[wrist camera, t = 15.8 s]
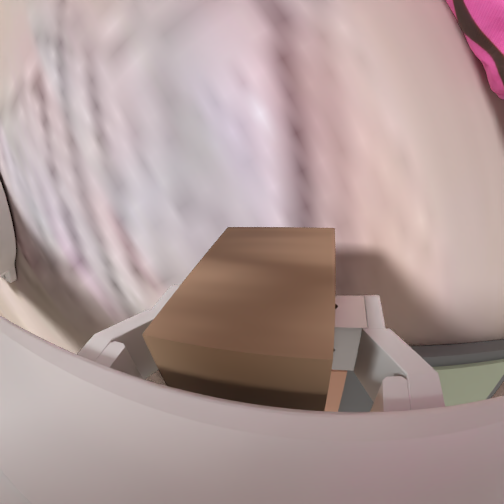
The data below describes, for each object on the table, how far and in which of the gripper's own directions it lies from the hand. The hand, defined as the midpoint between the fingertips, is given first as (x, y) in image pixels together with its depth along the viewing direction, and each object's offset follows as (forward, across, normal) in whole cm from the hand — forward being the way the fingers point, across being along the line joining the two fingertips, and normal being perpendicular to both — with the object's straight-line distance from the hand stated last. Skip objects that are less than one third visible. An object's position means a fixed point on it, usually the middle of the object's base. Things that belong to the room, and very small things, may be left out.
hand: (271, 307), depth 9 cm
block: (+2, 0, 0) cm, 2 cm away
